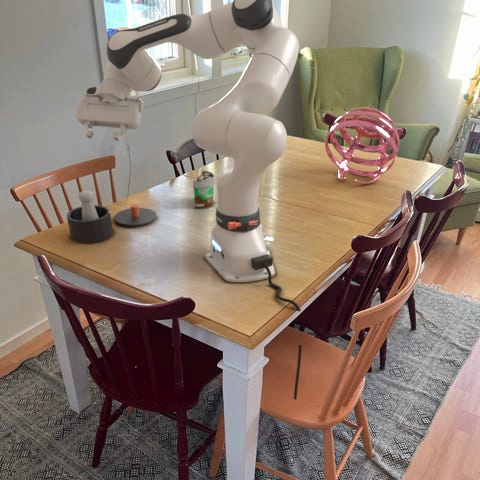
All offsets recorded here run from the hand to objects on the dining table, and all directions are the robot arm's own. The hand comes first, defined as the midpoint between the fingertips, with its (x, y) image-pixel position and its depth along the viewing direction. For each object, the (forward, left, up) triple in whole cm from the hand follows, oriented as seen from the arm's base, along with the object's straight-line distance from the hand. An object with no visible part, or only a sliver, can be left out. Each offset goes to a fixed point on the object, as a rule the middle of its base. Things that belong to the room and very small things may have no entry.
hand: (102, 138), depth 145 cm
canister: (-12, +8, -25) cm, 29 cm away
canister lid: (-4, -7, -25) cm, 26 cm away
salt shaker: (-12, +7, -25) cm, 29 cm away
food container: (+3, -32, -26) cm, 41 cm away
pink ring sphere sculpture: (+14, -97, -26) cm, 102 cm away
